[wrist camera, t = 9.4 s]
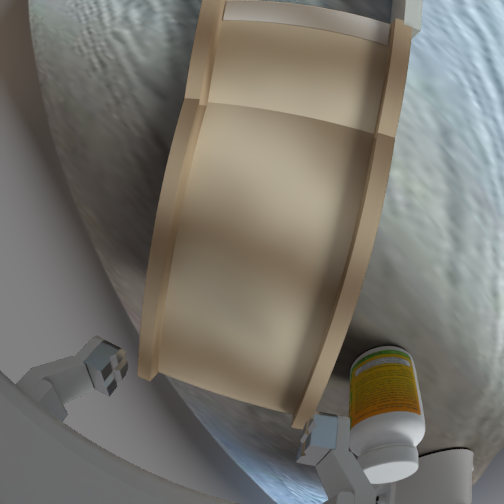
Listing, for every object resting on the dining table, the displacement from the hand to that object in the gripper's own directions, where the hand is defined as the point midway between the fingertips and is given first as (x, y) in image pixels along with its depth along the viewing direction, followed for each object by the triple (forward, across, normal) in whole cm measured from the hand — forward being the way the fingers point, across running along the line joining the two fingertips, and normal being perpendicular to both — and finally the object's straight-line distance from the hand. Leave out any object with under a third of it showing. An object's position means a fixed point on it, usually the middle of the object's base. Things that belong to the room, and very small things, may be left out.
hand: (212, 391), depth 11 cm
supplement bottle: (+10, -11, +6) cm, 16 cm away
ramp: (+10, 0, -6) cm, 12 cm away
